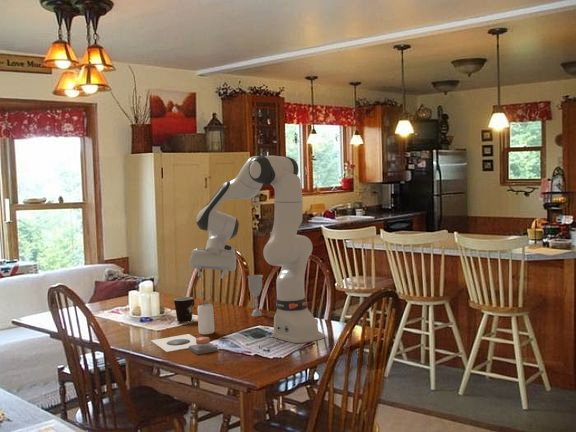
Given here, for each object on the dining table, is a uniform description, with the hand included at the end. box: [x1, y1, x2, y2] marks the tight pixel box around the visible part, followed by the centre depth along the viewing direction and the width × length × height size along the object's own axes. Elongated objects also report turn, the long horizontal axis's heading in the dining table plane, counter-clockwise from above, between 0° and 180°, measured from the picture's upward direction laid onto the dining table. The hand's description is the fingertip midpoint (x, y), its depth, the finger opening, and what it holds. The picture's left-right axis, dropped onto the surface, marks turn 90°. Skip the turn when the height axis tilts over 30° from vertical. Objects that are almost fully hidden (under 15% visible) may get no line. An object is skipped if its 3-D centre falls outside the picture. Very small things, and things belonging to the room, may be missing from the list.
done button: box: [195, 336, 211, 344], centre depth 234 cm, size 5×5×2 cm
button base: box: [188, 341, 218, 356], centre depth 234 cm, size 8×8×2 cm
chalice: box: [246, 274, 264, 317], centre depth 289 cm, size 7×7×18 cm
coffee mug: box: [173, 296, 195, 323], centre depth 286 cm, size 12×9×10 cm
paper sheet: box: [150, 333, 197, 353], centre depth 246 cm, size 20×16×1 cm
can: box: [197, 302, 215, 336], centre depth 260 cm, size 6×6×12 cm
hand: (210, 277), depth 271 cm, fingers open, 8 cm apart
